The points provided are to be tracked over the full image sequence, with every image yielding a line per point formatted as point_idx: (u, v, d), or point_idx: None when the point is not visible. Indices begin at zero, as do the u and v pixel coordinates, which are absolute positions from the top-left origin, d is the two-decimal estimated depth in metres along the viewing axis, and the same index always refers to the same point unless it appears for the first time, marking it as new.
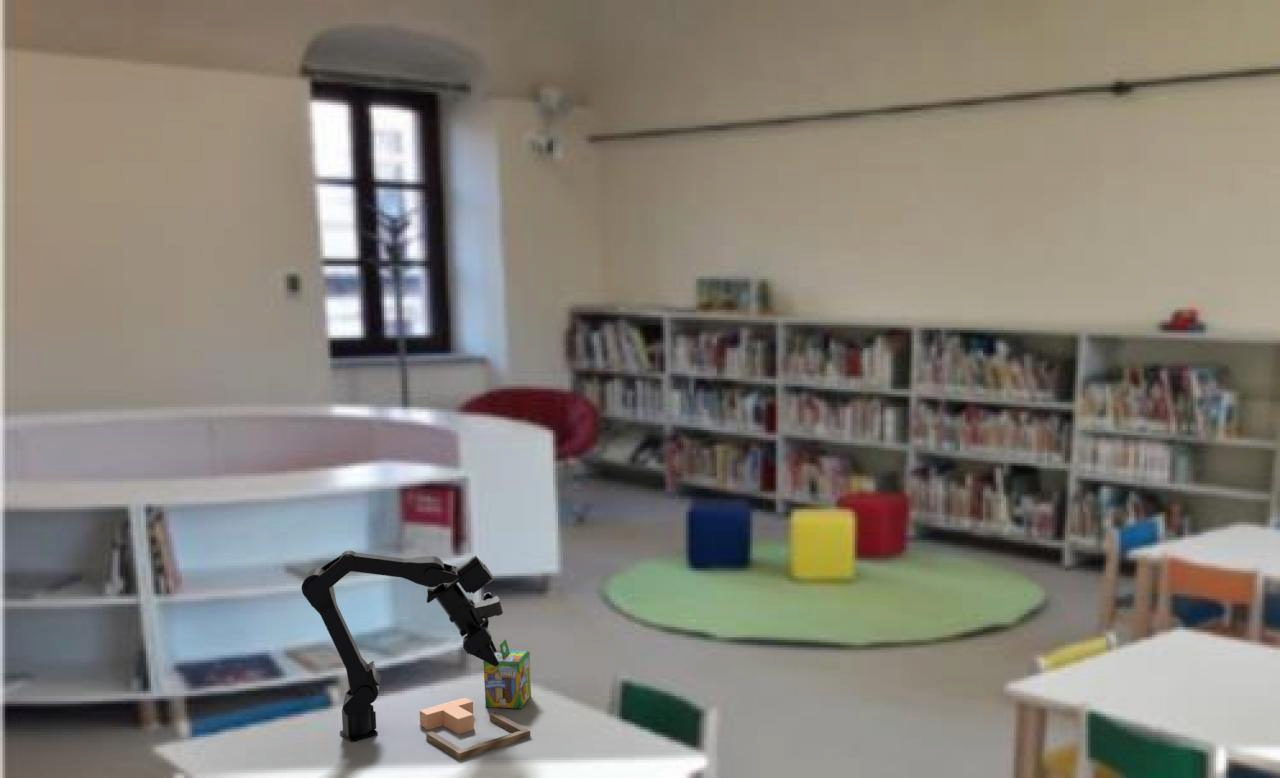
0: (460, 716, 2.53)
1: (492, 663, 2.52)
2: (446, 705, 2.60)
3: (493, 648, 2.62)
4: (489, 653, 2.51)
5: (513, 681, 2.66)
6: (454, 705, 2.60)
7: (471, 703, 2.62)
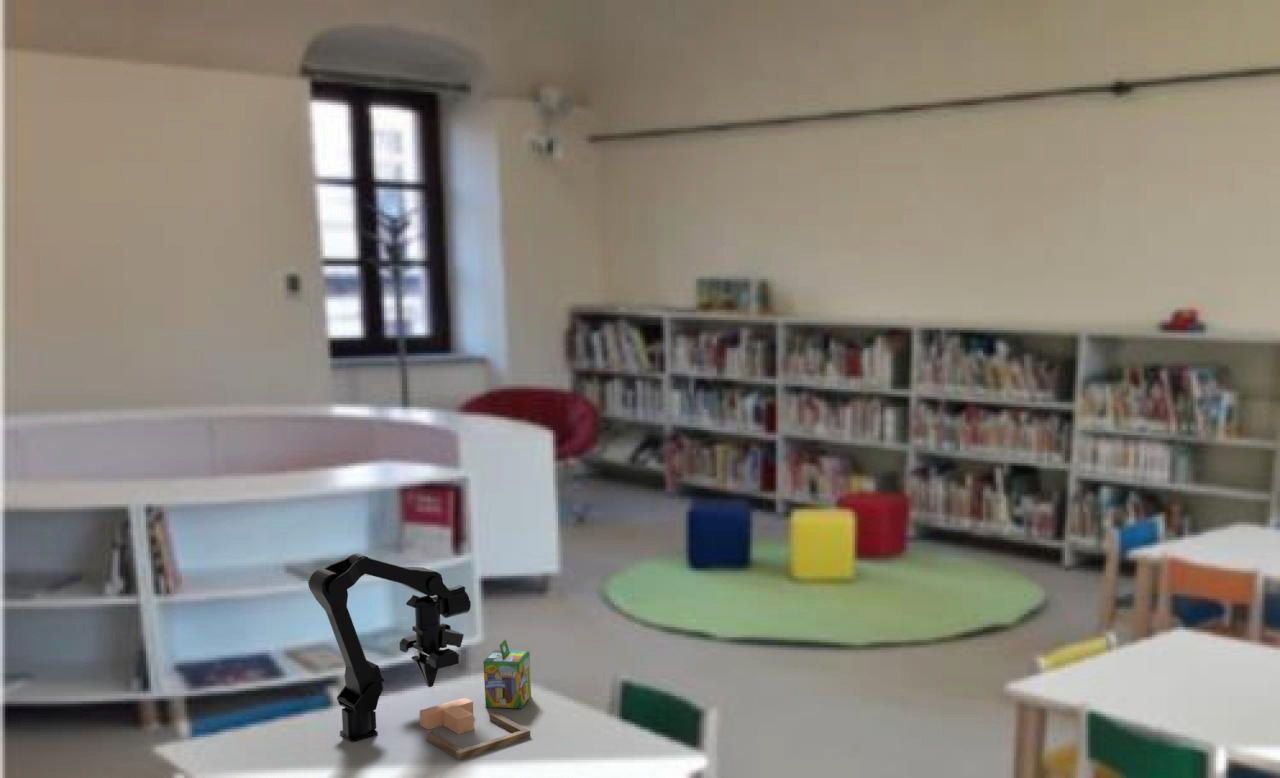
0: (460, 716, 2.53)
1: (429, 683, 2.64)
2: (446, 705, 2.60)
3: None
4: (433, 672, 2.64)
5: (513, 681, 2.66)
6: (454, 705, 2.60)
7: (471, 703, 2.62)
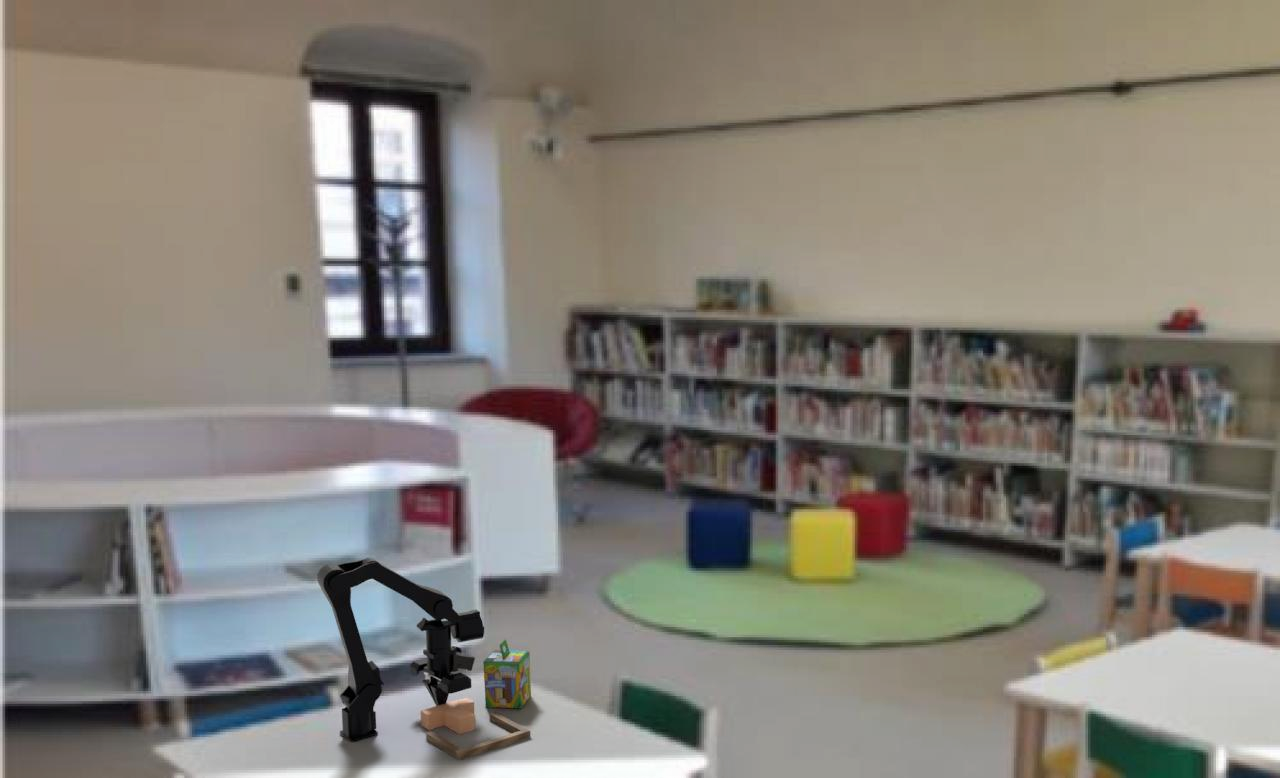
0: (461, 716, 2.53)
1: None
2: (447, 705, 2.60)
3: None
4: (444, 696, 2.61)
5: (513, 681, 2.66)
6: (455, 705, 2.60)
7: (472, 703, 2.62)
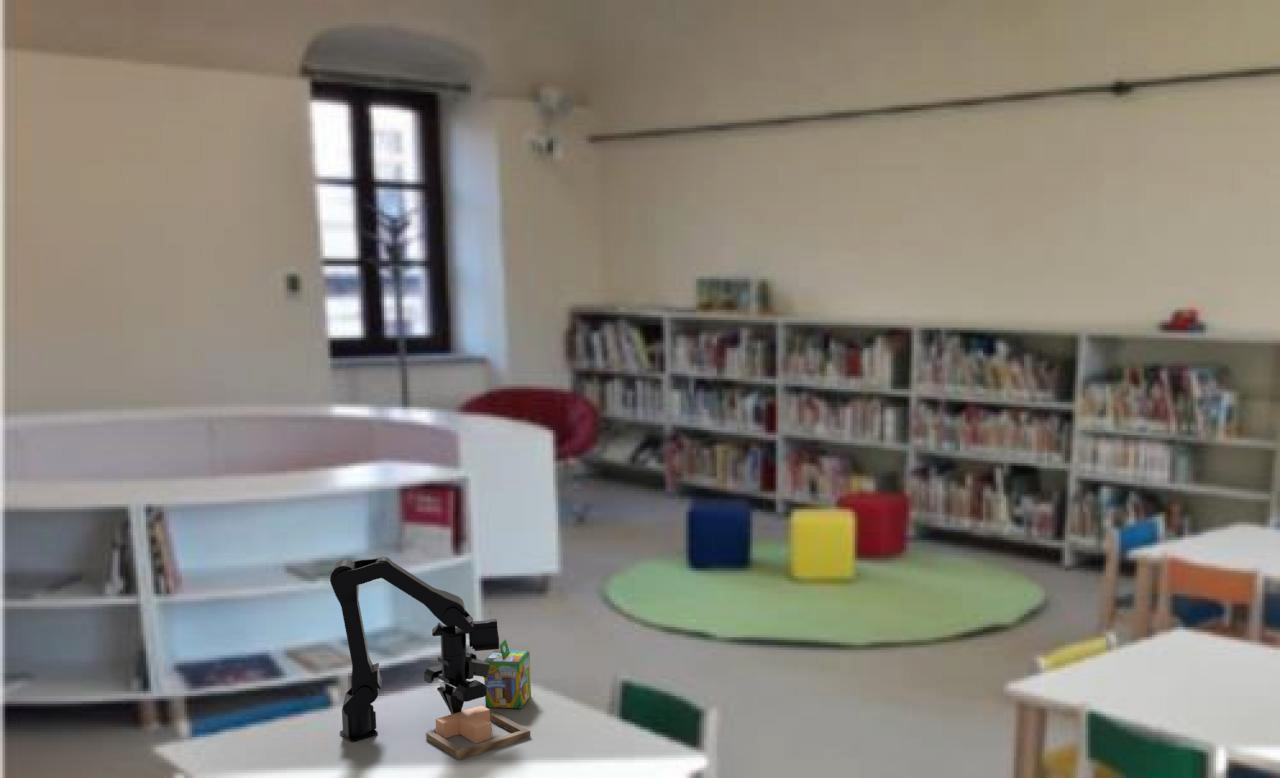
0: (477, 725, 2.48)
1: None
2: (462, 713, 2.55)
3: None
4: (460, 704, 2.56)
5: (513, 681, 2.66)
6: (471, 713, 2.55)
7: (488, 711, 2.57)
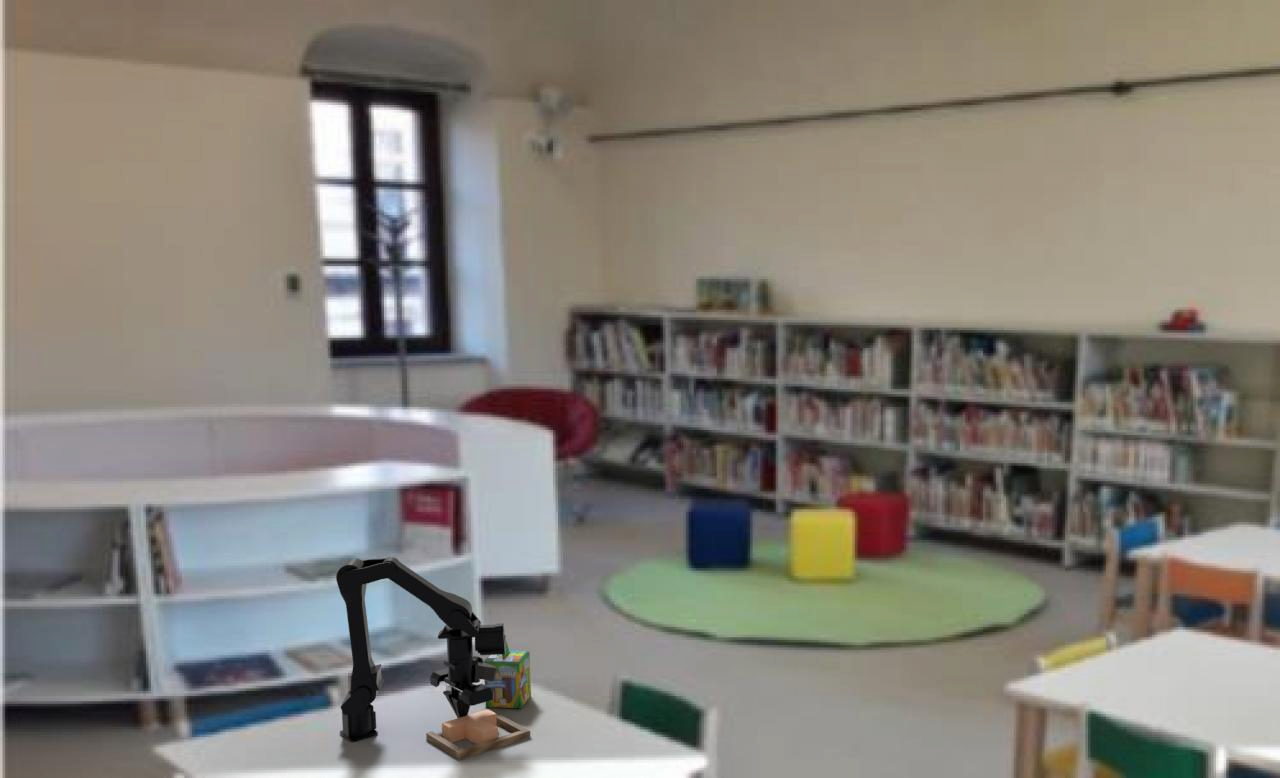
0: (484, 729, 2.46)
1: None
2: (469, 717, 2.52)
3: None
4: (466, 708, 2.53)
5: (513, 681, 2.66)
6: (477, 717, 2.53)
7: (494, 715, 2.54)
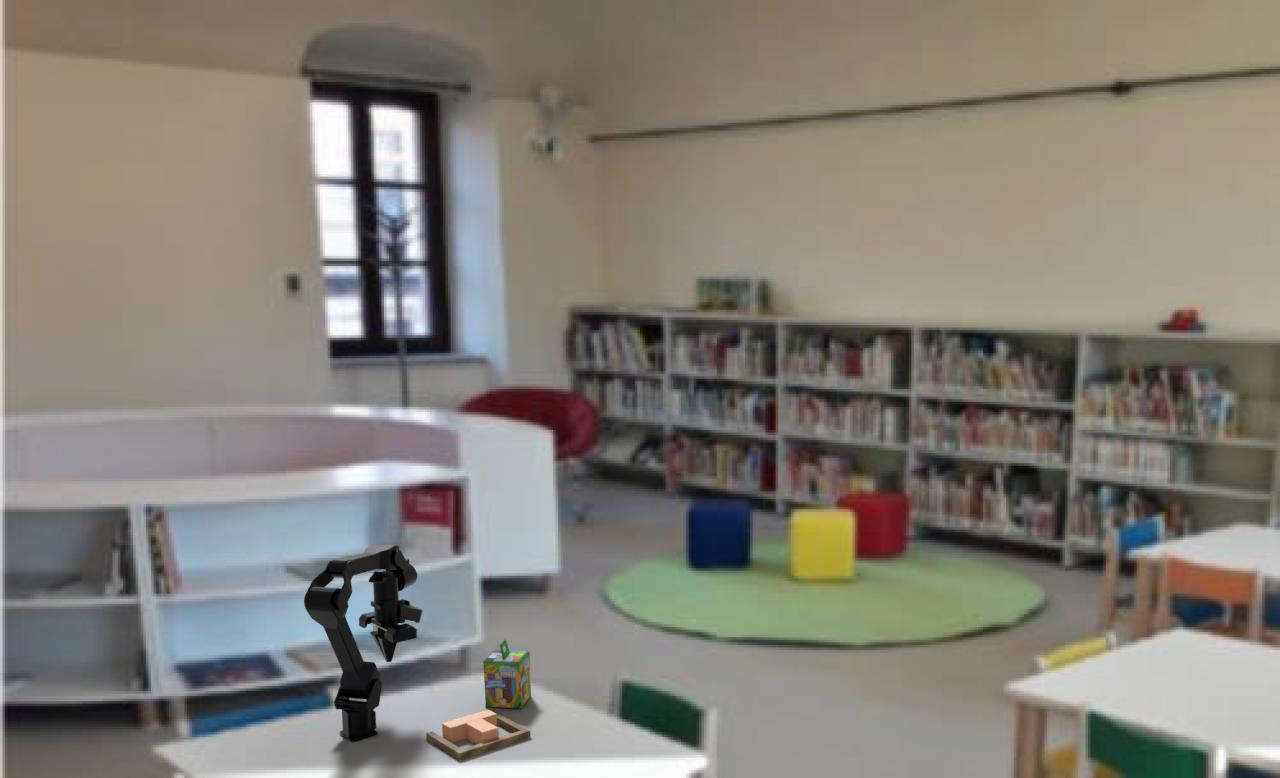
0: (484, 729, 2.46)
1: (388, 658, 2.65)
2: (469, 718, 2.52)
3: None
4: (392, 647, 2.64)
5: (513, 681, 2.66)
6: (477, 717, 2.52)
7: (495, 715, 2.54)
